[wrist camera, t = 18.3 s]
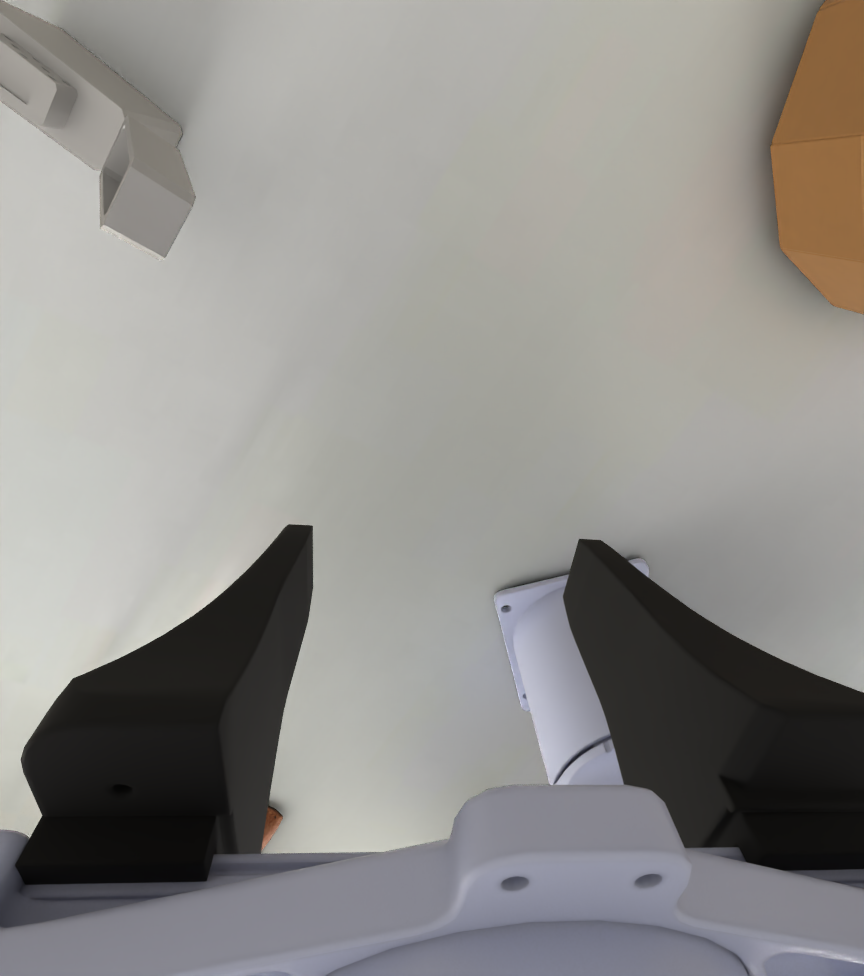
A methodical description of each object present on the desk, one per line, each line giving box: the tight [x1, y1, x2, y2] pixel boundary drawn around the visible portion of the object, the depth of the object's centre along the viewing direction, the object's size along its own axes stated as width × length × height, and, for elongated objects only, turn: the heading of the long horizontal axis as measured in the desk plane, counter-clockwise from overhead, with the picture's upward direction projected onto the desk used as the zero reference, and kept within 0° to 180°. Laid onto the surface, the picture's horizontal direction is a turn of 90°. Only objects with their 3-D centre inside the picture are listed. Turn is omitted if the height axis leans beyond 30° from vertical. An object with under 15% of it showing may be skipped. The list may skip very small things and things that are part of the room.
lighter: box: [0, 0, 196, 261], centre depth 14 cm, size 7×2×8 cm, turn 51°
